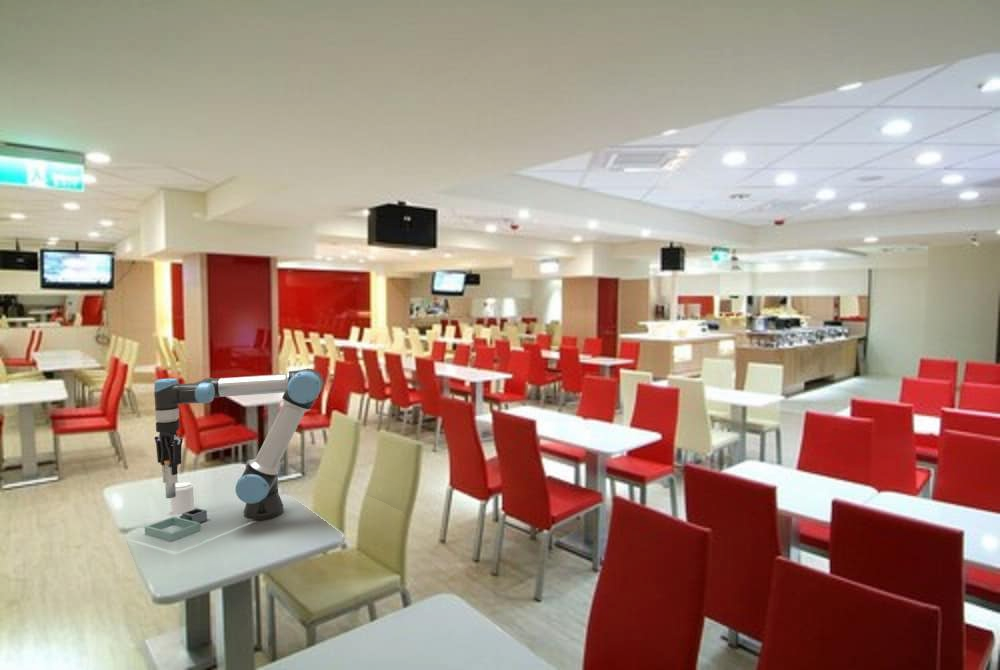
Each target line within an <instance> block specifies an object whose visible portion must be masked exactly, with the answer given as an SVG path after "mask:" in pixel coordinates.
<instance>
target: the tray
mask: <svg viewBox="0 0 1000 670" xmlns="http://www.w3.org/2000/svg"><path fill="white" fill-rule="evenodd" d="M171 526H178V527H181V529H178V530H176V531H173V532H171V531H168V530H163V529H166V528H168V527H171ZM200 531H201V524H200V523H198V522H194V521H190V520H186V519H182V518H180V517H178V516H171V517H169V518H168V517H167V518H165V519H163V520H160V521H157V522H154V523H151V524H149V525H145V526H144V535H147V536H150V537H154V538H157V539H161V540H163V541H164V540H165V541H167V542H175V541H177V540H180V539H182V538H185V537H187V536H190V535H193V534H195V533H197V532H200Z"/></svg>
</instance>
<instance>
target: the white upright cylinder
mask: <svg viewBox="0 0 1000 670" xmlns="http://www.w3.org/2000/svg"><path fill="white" fill-rule="evenodd" d="M175 486H176V497H174V498H170V502H171V503H170V504H171V514H173V515H182V513H185V512H188V511H190V510H193V509H195V498H194V495H195V494H194V485H193V483H192V482H191V481H181V482H177V483H175Z"/></svg>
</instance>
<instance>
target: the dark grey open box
mask: <svg viewBox="0 0 1000 670" xmlns="http://www.w3.org/2000/svg"><path fill="white" fill-rule="evenodd" d="M179 518H182V519H186V520H190V521H194V522H198V523H200V525H201V524H204V523H207V522H209V521H211V519H208V512H207V510H206V509H202V508H198V507H197V508H194V509H193V510H190V511H188V512H185V513H182V514H180V516H179Z"/></svg>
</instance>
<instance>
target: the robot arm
mask: <svg viewBox="0 0 1000 670" xmlns="http://www.w3.org/2000/svg"><path fill="white" fill-rule="evenodd" d="M323 387H324V379H323V375H322V374H321V373H320V372H319V371H318V370H316V369H315V368H303V369H299V370H289V371H287V373H281V374H279V373H278V374H269V375H268V374H264V375H250V376H236V377H220V378H213V377H208V378H202V379H201V380H199V381H196V382H192V383H191V382H190V383H179V380H178V379H177V378H175V377H174V378H160V379H157V380H155V381H154V388H153V389H154V392H153V395H154V407H155V408H154V409H155V410H154V412H155V415H154V419H155V421H156V422H155V431H156V433H159V434H158V436H155V437H154V441H155V446H156V447H155V448H156V458H157V463H158V464H159V463H160V465H161V467H162V468H161V470H162V471H161V472H162V483H163V484H165V465H164V460H167V459H169V462H170V465H169V466H168V467H169V484H173V483H175V484H176V483H179V481H178V466H179V465H181V464H182V444H183V438H179V437H178V433H177V432H178V431H179V430H180V427H181V426H180V425H181V424H180V420H179V419H180V410H179V407H180V406H179V405H183V404H184V405H185V404H205V403H212V402H213V401H214V398H221V397H222V398H224V397H225V398H226V397H236V396H239V397H240V396H252V395H266V394H267V395H268V394H269V395H270V394H282V393H283V395H282V398H281V399H282V402H283V404H282V406H281V408H280V410H279V412H278V413H277V416H276V418H275V420H274V422H273V424H272V426H271V427H270V429H269V431H268V433H267V436H266V437H265V440H264V441H263V443H262V445H261V447H260V449H259V450H258V453H257V455H256V457H255V458H251V459H248V460H247V461H246V464H245V469H244V471H243V473H242V475H241V476H240V478H239V479H237V482H236V485H235V494H236V496H237V498H238V499H239V500H240V501H241V502H243V503H245V507H244V509H243V517H244V518H247V519H250V520H251V519H252V521H264V520H270V519H274V518H276V517H278V516H281V515H282V514H283V513H284V510H285V509H284V503H283V501H282V500H281V499H282V498H281V496H280V494H279V475H278V474H279V469H278V466H279V463H281V462H280V461H281V460H282V458H283V456H284V454H285V452H286V451H287V448H288V446H289V444H290V442H291V440H292V438H293V436H294V434H295V433H296V431H297V429H298V426H299V425H300V423H301V420H302V419H303V417H304V415H305V413H306V412H308V411H311V409H312V408H313V406H314V404H315V403H316V400H317V398H318V396H319V394H320V393H321V391H322V390H323Z"/></svg>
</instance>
